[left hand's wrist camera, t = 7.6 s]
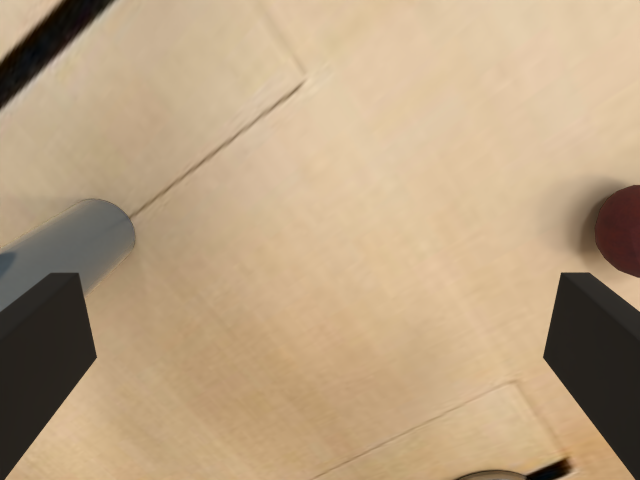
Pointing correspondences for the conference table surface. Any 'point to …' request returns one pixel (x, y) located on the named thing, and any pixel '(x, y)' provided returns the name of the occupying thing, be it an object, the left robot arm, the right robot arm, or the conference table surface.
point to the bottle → (67, 249)
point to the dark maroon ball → (621, 230)
